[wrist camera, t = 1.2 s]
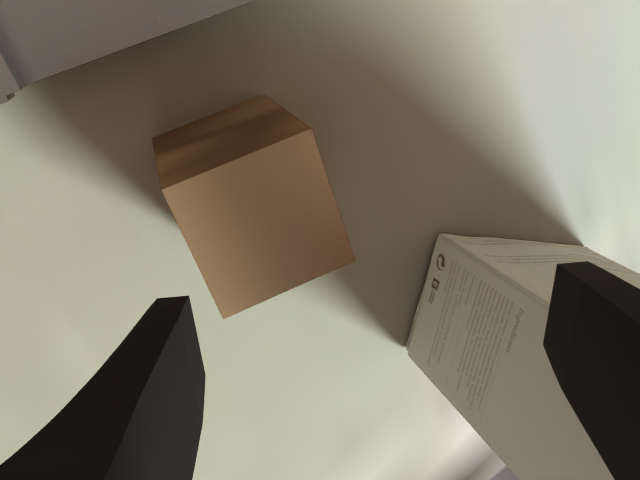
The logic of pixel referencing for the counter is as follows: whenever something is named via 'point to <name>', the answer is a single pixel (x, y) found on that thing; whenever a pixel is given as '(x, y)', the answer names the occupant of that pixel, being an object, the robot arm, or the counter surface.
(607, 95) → the counter surface
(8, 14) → the rail
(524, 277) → the skincare box
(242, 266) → the walnut block
